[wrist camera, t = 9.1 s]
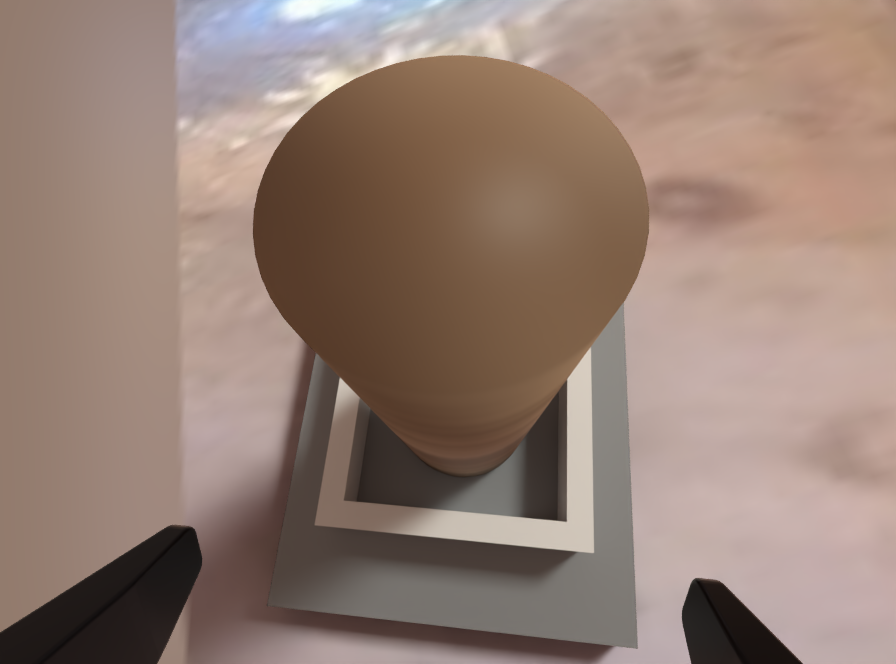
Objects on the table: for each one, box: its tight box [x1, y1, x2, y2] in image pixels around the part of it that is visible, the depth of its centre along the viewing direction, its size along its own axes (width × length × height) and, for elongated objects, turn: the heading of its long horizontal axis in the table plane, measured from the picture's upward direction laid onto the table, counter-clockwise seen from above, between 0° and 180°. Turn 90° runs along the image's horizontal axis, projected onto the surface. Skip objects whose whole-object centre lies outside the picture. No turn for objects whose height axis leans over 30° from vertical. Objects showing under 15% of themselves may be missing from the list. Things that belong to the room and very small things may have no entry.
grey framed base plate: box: [267, 302, 638, 649], centre depth 18 cm, size 14×12×3 cm
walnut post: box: [253, 55, 649, 477], centre depth 12 cm, size 5×5×13 cm
